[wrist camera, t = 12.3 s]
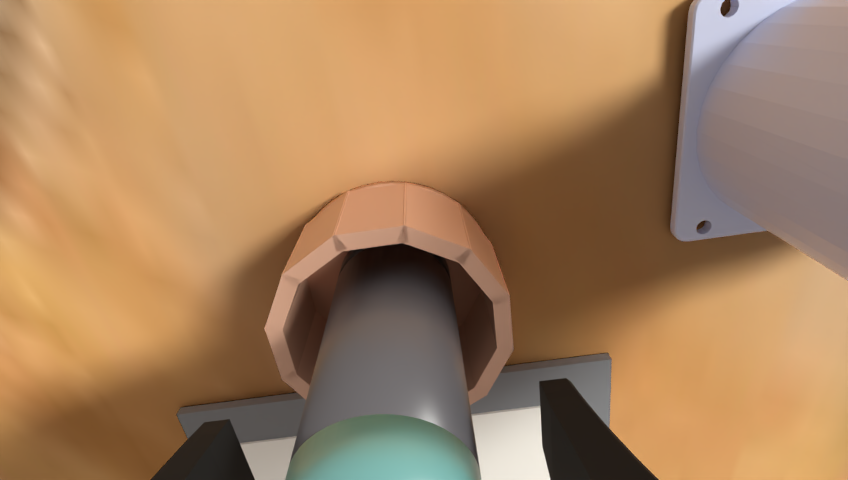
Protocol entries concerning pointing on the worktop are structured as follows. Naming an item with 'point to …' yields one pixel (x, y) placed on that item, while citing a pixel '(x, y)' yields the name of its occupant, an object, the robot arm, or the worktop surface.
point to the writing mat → (492, 415)
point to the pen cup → (378, 226)
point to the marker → (388, 376)
